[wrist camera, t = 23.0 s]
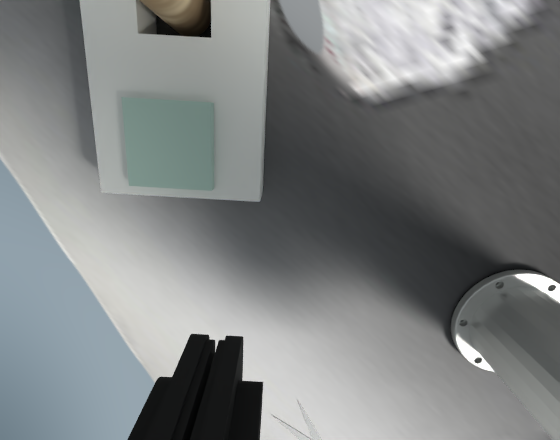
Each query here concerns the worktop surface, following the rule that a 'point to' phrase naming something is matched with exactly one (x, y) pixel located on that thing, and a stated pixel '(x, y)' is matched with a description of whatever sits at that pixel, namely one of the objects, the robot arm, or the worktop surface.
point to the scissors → (312, 429)
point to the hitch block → (181, 87)
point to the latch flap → (169, 143)
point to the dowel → (183, 14)
